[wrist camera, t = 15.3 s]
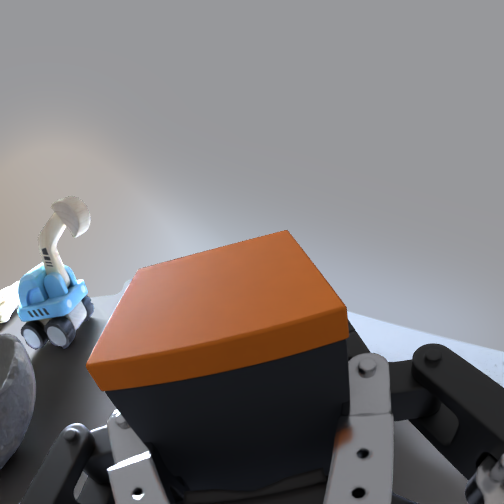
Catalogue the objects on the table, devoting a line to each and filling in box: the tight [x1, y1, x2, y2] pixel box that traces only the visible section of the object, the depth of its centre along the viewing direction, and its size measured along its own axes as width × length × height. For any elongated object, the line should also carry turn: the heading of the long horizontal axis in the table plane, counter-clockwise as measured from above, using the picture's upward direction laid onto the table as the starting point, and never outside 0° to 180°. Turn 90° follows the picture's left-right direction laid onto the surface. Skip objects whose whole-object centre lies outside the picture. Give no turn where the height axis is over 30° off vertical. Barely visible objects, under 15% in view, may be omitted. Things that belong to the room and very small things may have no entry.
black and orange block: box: [86, 230, 350, 491], centre depth 10 cm, size 6×6×10 cm
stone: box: [0, 281, 20, 324], centre depth 51 cm, size 21×12×5 cm, turn 67°
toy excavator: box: [17, 196, 94, 350], centre depth 34 cm, size 9×17×17 cm, turn 90°
